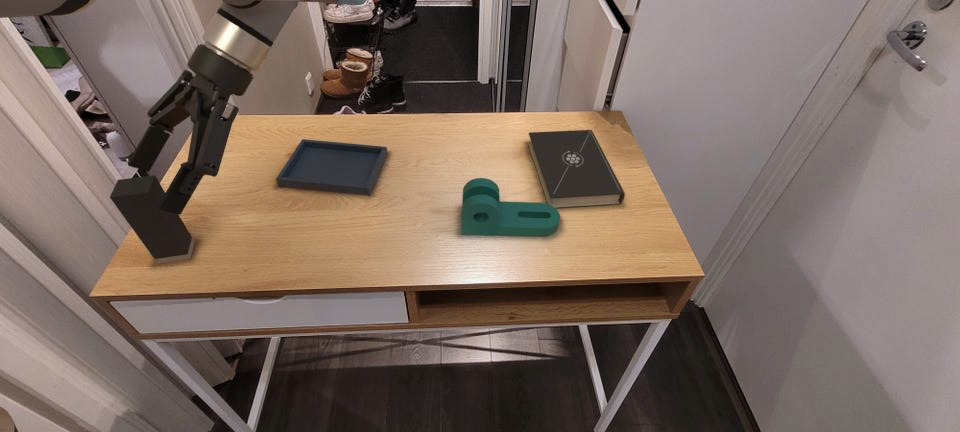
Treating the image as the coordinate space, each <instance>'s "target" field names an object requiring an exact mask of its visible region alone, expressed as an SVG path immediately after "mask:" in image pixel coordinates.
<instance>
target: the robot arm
mask: <svg viewBox="0 0 960 432" xmlns="http://www.w3.org/2000/svg"><path fill="white" fill-rule="evenodd" d="M221 1H222V2H221V4H220V6H219V7H218V9H217V11H216V12H215V13H214V14H213V17H212V18H211V20H210V21H209V23H208V25H207V27H206V29H205V30H204V32H203V34H202V36H201V38H202V40H203V41H204V43H203V44H202V43H200V44H197V46H196V47H195V49H194V51H193V52H192V54H191V56H190V58H189V59H188V61H187V63H186V65H187V67H188V69H189V70H190V71H189V70H187V69H183V71H182V73H181V74H180V75H179V77H178V78H177V80H176V81H175V82H174V83H173V85H171V86H170V88H169V89H168V90H167V91H166V92H165V93H164V94H163V95H162V96H161V97H160V98H159V99H157V101H156V102H155V103H154V104H153V106H152V107H150V109H148V110H147V113H146V114H147V115H146V116H147V117H148V118H149V120H148V124H149V126H148V127H147V129H146V130H145V132H144V134H143V136H142V137H141V139H140V140H139V143H138V144H137V146H136V148H135V150H134V151H133V153H132V155H131V156H130V158H129V160H128V161H127V166H128V167H131V168H135V169H138V170H141V171H144V172H146V173H147V172H148V173H149V172H150V171H151V169H152V167H153V166H154V164H155V163H156V161H157V159H158V158H159V156H160V155H161V152H162V150H163V149H164V147H165V145H166V144H167V142H168V140H169V138H170V137H171V134H174V132H175V129H174V128H175V127H176V126H178V125H179V124H180V123H183V121H185V120H187V119H188V118H190V121H191V123H192V131H191V136H190V143H189V150H188V155H187V161H183V162H182V163H180V167H179V169H178V170H177V172H176V174H175V176H174V177H173V179H172V181H171V182H170V184H169V185H168V188H167V190H166V191H165V194H164V196H163V198H162V200H161V201H160V203H159V205H158V206H157V207H158V209H159V210H163V211H167V212H171V213H175V214H178V215H179V216H180V215H182V213H183V211H184V210H185V208H186V206H187V204H188V203H189V201H190V200H191V198H192V197H193V194H194V193H195V191H196V189H197V188H198V186H199V184H200V182H201V181H202V179H203V177H205V176H211V177H214V178H215V177H217V176H218V174H219V171H220V168H221V164H222V162H223V157H224V153H225V150H226V147H227V143H228V139H229V136H230V132H231V129H232V126H233V123H234V121H235V119H236V117H237V115H238V113H239V107H238V106H236V105H234V104H233V103H230V102H229V101H230V98H231V96H232V95H234V96H236V97H243V96H244V95H245V93H246V92H247V90H248V88H249V86H250V85H251V83H252V81H253V80H254V74H253V73H252V71H258V70H259V69H260V67H261V65H262V64H263V62H264V60H266V59H267V58H268V57H269V55H268V54H269V52H270V50H271V48H272V47H273V45H274V43H275V40H276V39H277V37H278V36H279V34H280V32H281V31H282V29H283V28H284V27H285V24H286V23H287V22H288V20H289V18H290V16H291V15H292V14H293V11H295V10H296V8H298V6H299V3H320V4H321V3H322V4H332V5H337V6H342V7H343V6H344V5H345V6H362V5H363V4H365V3H366V2H368V0H221ZM95 2H96V0H0V19H4V18H21V17H24V18H25V17H51V16H53V17H54V16H56V17H57V16H69V15H73V14H76V13H79V12H83V11H84V10H85V9H87V8H89V7H90V6H91V5H92V4H94V3H95ZM0 432H19V430H18V428H17V426H16V424H15V421H14V419H13V417H12V415H11V414H10V413H9V412H8V410H6V409H5V408H4V407H2V406H0Z"/></svg>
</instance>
